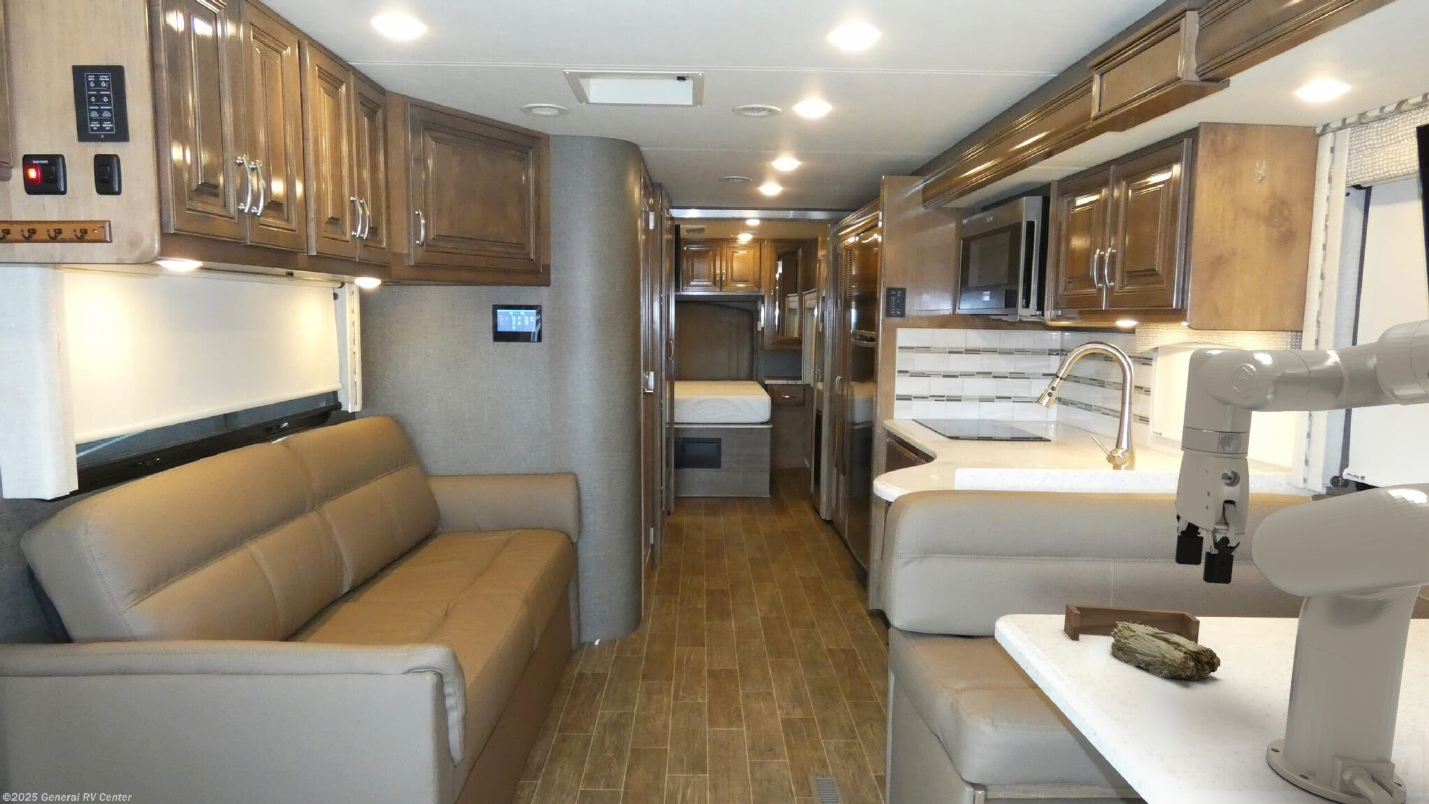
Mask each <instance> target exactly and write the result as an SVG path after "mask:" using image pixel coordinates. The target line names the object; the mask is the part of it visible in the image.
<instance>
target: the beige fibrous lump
mask: <svg viewBox="0 0 1429 804" xmlns="http://www.w3.org/2000/svg"><path fill="white" fill-rule="evenodd" d="M1130 622H1132V621H1130ZM1137 623H1140V622H1139V621H1137ZM1116 624H1118V625H1117V626H1118V627H1117V629H1115V628H1114V629H1113V632H1111V637H1112V638H1113V641H1111V646H1110V648H1111V650H1112V652H1113V654H1114V656H1115V657H1116V658H1117V659H1119V660H1121V662H1124V663H1125V664H1128V665H1131V666H1133V665H1134V666H1133V667H1136V666H1138V667H1141V668H1143V669H1144V670H1145V671H1146V670H1147V671H1146V672H1148V671H1149V672H1148V673H1151V672H1152V673H1151V674H1154V673H1155V675H1157V676H1159V675H1161V676H1160V677H1162V676H1163V677H1162V678H1165V677H1166V678H1170V679H1180V680H1190V681H1197V680H1201V679H1205V677H1206V676H1209V675H1210V674H1212V673H1216V672H1217V671H1218V668H1219V667H1221V659H1220V657H1219V656H1218V655H1217V653H1216V652H1215V651H1214V650H1213V649H1212V648H1210V647H1207V646H1204V645H1202V644H1196V643H1195V642H1194V641H1189V640H1188V639H1186V638H1183V637H1181V636H1178V635H1176V634H1171V633H1167V632H1164V631H1161V630H1158V629H1157V628H1152V627H1149V626H1147V625H1146V626H1145V625H1138V624H1136V623H1135V624H1132V623H1126V622H1117V621H1116Z"/></svg>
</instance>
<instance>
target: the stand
mask: <svg viewBox="0 0 1429 804" xmlns="http://www.w3.org/2000/svg"><path fill="white" fill-rule="evenodd" d="M1116 621H1117V622H1126V623H1132V624H1135V623H1136V624H1138V625H1145V626H1146V625H1147V626H1149V627H1152V628H1157V629H1158V630H1161V631H1164V632H1167V633H1171V634H1176V635H1178V636H1181V637H1183V638H1186V639H1188V640H1189V641H1194V642H1195V643H1196V644H1198V643H1199V634H1200V625H1201V623H1200V619H1199V618H1197V617H1195V616H1194V615H1193V614H1192V613H1191V612H1189V611H1185V610H1167V609H1153V608H1152V609H1151V608H1137V607H1136V608H1135V607H1121V606H1120V607H1119V606H1118V607H1117V606H1101V605H1087V604H1086V605H1084V604H1074V603H1073V604H1072V603H1066V604H1065V613H1064V626H1063V631H1064V632H1065V633H1066V635H1067V636H1068V637H1069V638H1070V640H1071V641H1079V640H1080V635H1094V636H1095V635H1097V636H1111V632H1113V629H1114V628H1115V629H1117V627H1118V626H1117V625H1118V624H1116ZM1130 621H1132V622H1130ZM1137 621H1139V622H1140V623H1137ZM1111 637H1112V636H1111ZM1198 645H1199V644H1198Z"/></svg>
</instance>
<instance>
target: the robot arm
mask: <svg viewBox="0 0 1429 804" xmlns="http://www.w3.org/2000/svg"><path fill="white" fill-rule="evenodd" d="M1188 361H1189V363H1188V372H1187V383H1186V392H1185V402H1184V403H1185V404H1184V412H1183V424H1182V425H1183V426H1182V433H1181V434H1182V436H1181V444H1180V445H1181V446H1180V451H1182V452H1183V453H1182V458H1181V463H1180V469H1179V472H1178V481H1177V487H1176V497H1175V501H1174V506H1175V510H1176V517H1175V518H1176V520H1177V526H1176V533H1177V538H1176V548H1175V559H1174V560H1175V563H1176V564H1178V565H1185V566H1186V565H1188V566H1189V565H1190V566H1200V565H1201V564H1202V557H1203V548H1204V536H1201V534H1202V533H1203V530H1204V531H1206V538H1207V543H1208V550H1209V551H1207V550H1206V551H1205V554H1204V566H1203V574H1202V575H1203V576H1202V580H1203V582H1205V583H1207V584H1220V585H1221V584H1223V585H1230V584H1231V583H1232V579H1233V578H1232V575H1233V566H1234V556H1236V554H1237V551H1238V550H1237V548H1238V547H1239V546H1240V544H1241V541H1242V540H1243V538H1244V536H1245V534H1246V531H1247V530H1248V521H1249V511H1250V510H1249V506H1250V505H1249V504H1250V474H1249V473H1250V472H1249V463H1248V462H1249V461H1248V456H1249V445H1250V434H1251V426H1252V415H1253V412H1258V413H1260V412H1261V413H1271V412H1273V413H1276V412H1278V413H1280V412H1325V411H1335V410H1337V411H1338V410H1346V409H1349V410H1350V409H1358V408H1371V407H1380V406H1381V407H1382V406H1383V407H1384V406H1389V405H1391V406H1392V405H1401V406H1409V405H1410V406H1411V405H1419V404H1429V318H1428V319H1422V320H1417V321H1410V322H1404V323H1398V324H1395V325H1392V326H1391V327H1389V328H1387V329H1385V331H1384V332H1383V333H1382V334H1381V335H1380V336H1379V338H1378V339H1377V341H1375V342H1374V341H1373V342H1369V343H1365V344H1363V343H1362V344H1357V345H1350V346H1344V347H1337V348H1329V349H1319V350H1318V349H1317V350H1315V349H1313V350H1311V349H1310V350H1308V349H1253V350H1252V349H1251V350H1247V349H1243V348H1242V349H1241V348H1226V347H1202V348H1198V349H1195V350H1193V352H1192V353H1191V354H1190V357H1189V360H1188ZM1217 526H1218V527H1224V528H1216V527H1217ZM1217 536H1221V538H1220V539H1219V540H1218V539H1217ZM1250 548H1251V549H1250V551H1251V552H1250V554H1251V557H1252V560H1253V563H1254V566H1255V567H1256V569H1257V571H1258V572H1259V574H1261V576H1262V577H1264V579H1265V580H1267V581H1268V583H1270V584H1271V585H1273V586H1275V587H1276V588H1277V589H1279V590H1281V591H1283V592H1284V593H1288V594H1291V595H1294V596H1299V597H1304V598H1303V602H1302V605H1301V607H1300V611H1299V615H1298V619H1297V620H1298V621H1297V629H1296V636H1295V643H1294V654H1293V662H1292V670H1291V681H1290V689H1289V698H1288V705H1287V706H1288V707H1287V714H1286V715H1287V717H1286V726H1285V732H1284V733H1285V734H1284V735H1285V736H1284V738H1280V739H1276V740H1274V741H1271V742H1270V743H1269V744H1268V745H1267V748H1266V754H1265V755H1266V760H1267V763H1268V764H1269V766H1271V768H1272V769H1273V770H1274V771H1275V772H1276V773H1278V775H1280V776H1281V777H1283V778H1284V779H1285V780H1288V782H1290V783H1291V784H1294V785H1296V786H1298V787H1300V788H1301V789H1303V790H1305V791H1307V792H1309V793H1312V794H1314V795H1317V796H1320V797H1323V798H1325V799H1328V800H1332V801H1334V802H1338V803H1341V804H1403V803H1404V801H1405V800H1406V798H1407V787H1406V784H1405V783H1404V781H1403V780H1402V779H1401V777H1399V776H1398V774H1396V773H1395V770H1396V764H1395V763H1394V762H1393V761H1392V756H1393V754H1392V753H1393V748H1394V741H1395V740H1394V738H1395V733H1396V731H1395V730H1396V725H1397V724H1396V723H1397V717H1398V709H1399V701H1400V695H1401V694H1400V693H1401V686H1402V679H1403V678H1402V677H1403V671H1404V663H1405V657H1406V652H1407V651H1406V650H1407V641H1408V636H1409V629H1410V624H1411V620H1412V615H1413V611H1414V608H1415V604H1416V601H1417V599H1418V596H1419V594H1420V591H1421V588H1422V587H1423V586H1426V587H1427V586H1429V482H1426V483H1425V482H1423V483H1422V482H1418V483H1417V482H1416V483H1405V484H1394V485H1388V486H1387V485H1386V486H1381V487H1375V488H1374V487H1373V488H1370V489H1365V490H1362V491H1360V490H1359V491H1355V492H1352V493H1347V494H1346V493H1345V494H1342V495H1337V496H1334V497H1333V496H1332V497H1329V498H1324V499H1320V500H1319V499H1318V500H1315V501H1309V502H1306V503H1300V504H1297V505H1292V506H1286V507H1284V508H1281V509H1278V510H1276V511H1274V512H1273V513H1271V514H1269V515H1268V516H1266V517H1265V518H1264V519H1263V520H1262V521H1261V522H1260V523H1259V525H1258V526H1257V528H1256V529H1255V531H1254V534H1253V536H1252V539H1251V545H1250Z"/></svg>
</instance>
